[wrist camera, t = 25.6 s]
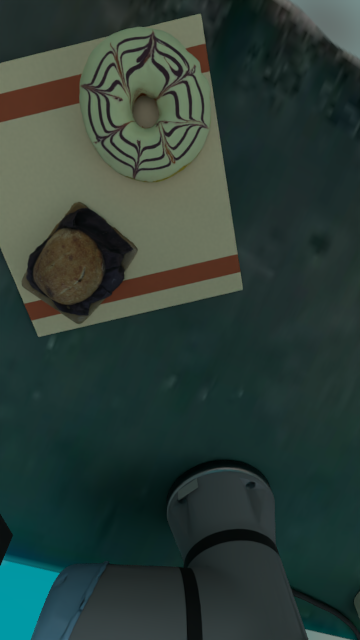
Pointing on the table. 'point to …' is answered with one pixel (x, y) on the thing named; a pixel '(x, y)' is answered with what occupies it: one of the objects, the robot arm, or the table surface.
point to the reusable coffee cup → (357, 603)
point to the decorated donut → (156, 82)
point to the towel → (109, 189)
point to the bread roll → (79, 263)
